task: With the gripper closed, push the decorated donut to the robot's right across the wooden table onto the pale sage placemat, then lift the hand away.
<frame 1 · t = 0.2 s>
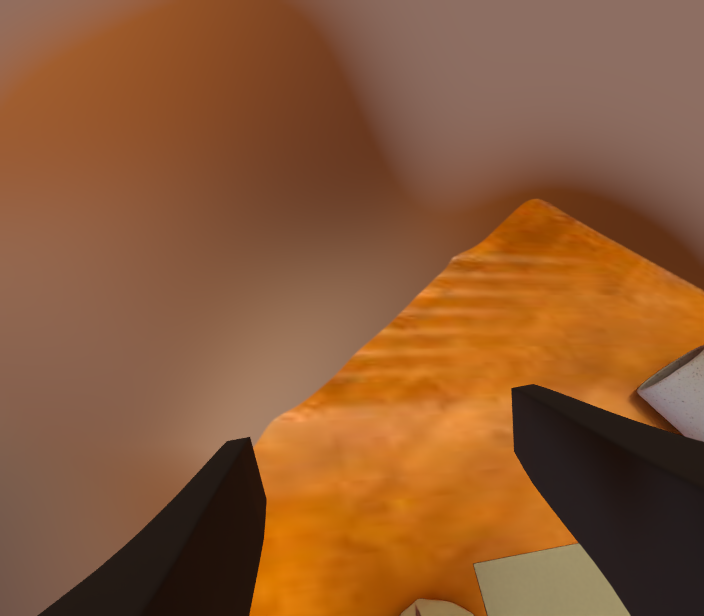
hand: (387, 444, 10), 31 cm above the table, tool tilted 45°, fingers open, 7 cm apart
ceramic mug: (685, 402, 40), on the table
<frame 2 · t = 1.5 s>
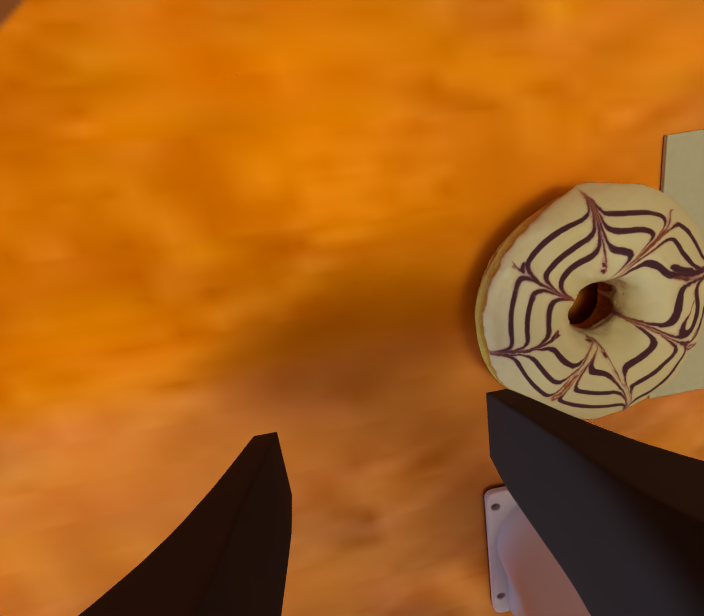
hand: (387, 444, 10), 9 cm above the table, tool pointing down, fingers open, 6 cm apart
decorated donut: (561, 294, 20), on the table, touching placemat
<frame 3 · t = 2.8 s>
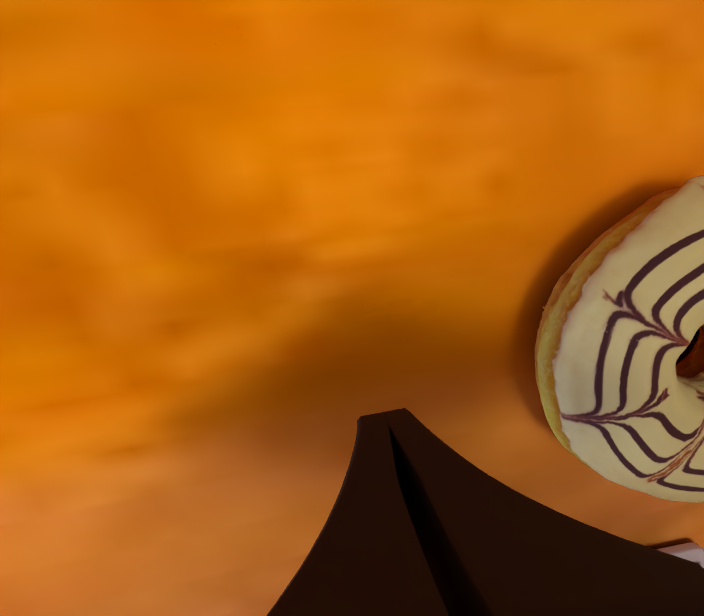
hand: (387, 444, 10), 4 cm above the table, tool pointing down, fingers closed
decorated donut: (645, 326, 15), on the table, touching placemat
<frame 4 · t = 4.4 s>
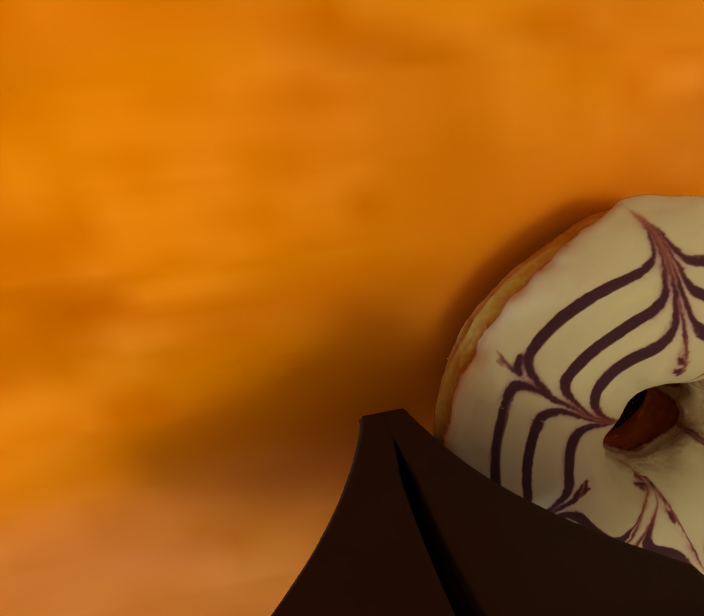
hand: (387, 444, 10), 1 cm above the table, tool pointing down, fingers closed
decorated donut: (584, 376, 12), on the table, touching gripper
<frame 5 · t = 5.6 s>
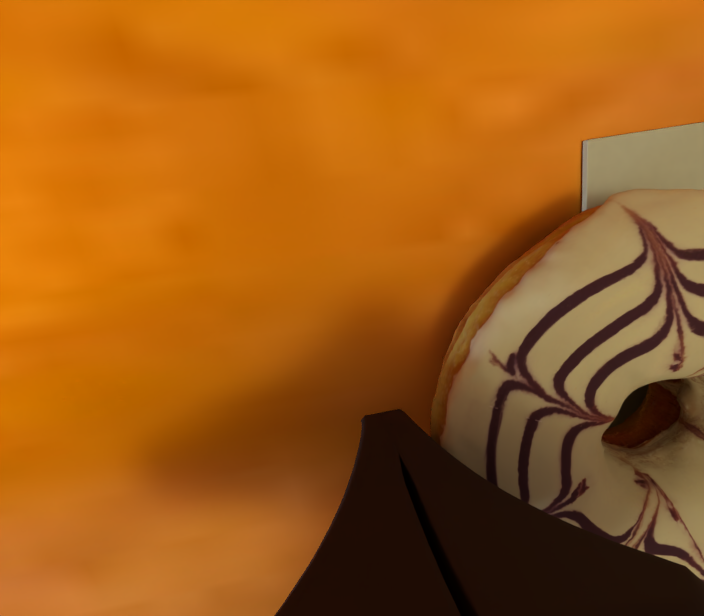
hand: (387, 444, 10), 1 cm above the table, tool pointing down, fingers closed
decorated donut: (584, 373, 12), resting on placemat, touching gripper
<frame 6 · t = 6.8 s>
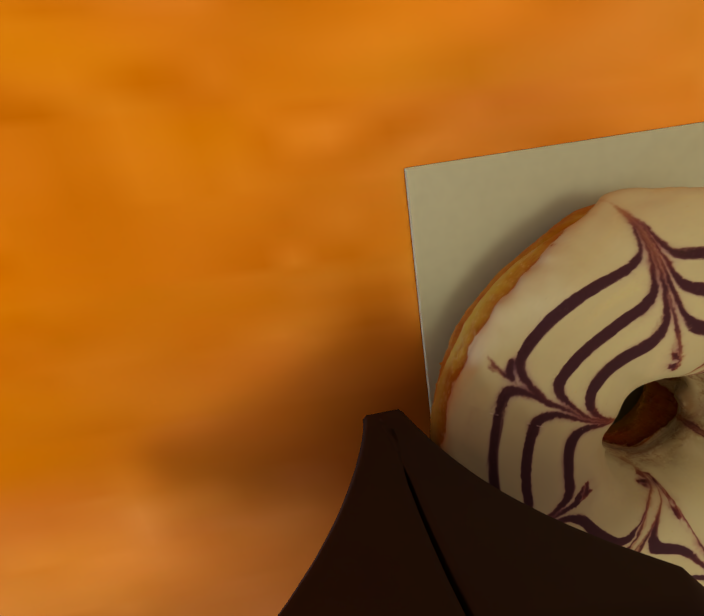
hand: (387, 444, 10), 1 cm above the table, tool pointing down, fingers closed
decorated donut: (581, 372, 12), resting on placemat, touching gripper
placemat: (645, 367, 12), on the table
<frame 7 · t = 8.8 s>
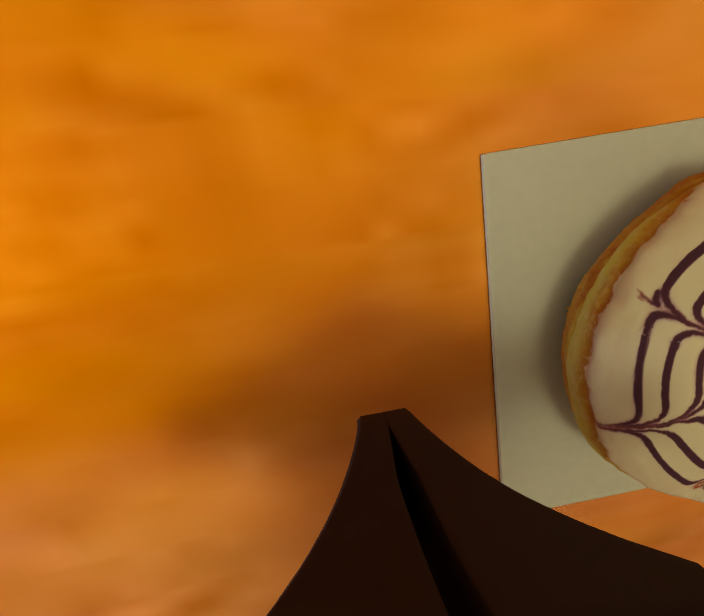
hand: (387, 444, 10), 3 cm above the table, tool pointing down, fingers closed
decorated donut: (674, 319, 14), resting on placemat
placemat: (676, 325, 14), on the table
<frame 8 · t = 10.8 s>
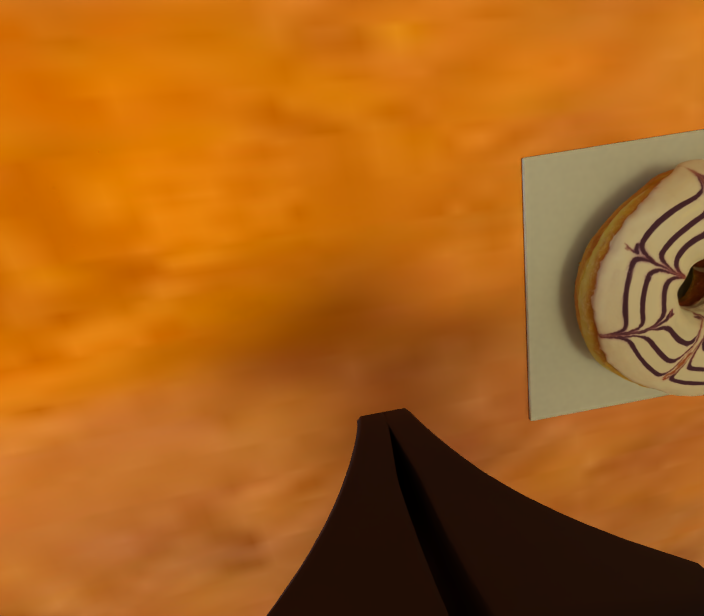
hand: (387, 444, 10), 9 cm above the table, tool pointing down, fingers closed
decorated donut: (653, 274, 20), resting on placemat
placemat: (654, 278, 20), on the table
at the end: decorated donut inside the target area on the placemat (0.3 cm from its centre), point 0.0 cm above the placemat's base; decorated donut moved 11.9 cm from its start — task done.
